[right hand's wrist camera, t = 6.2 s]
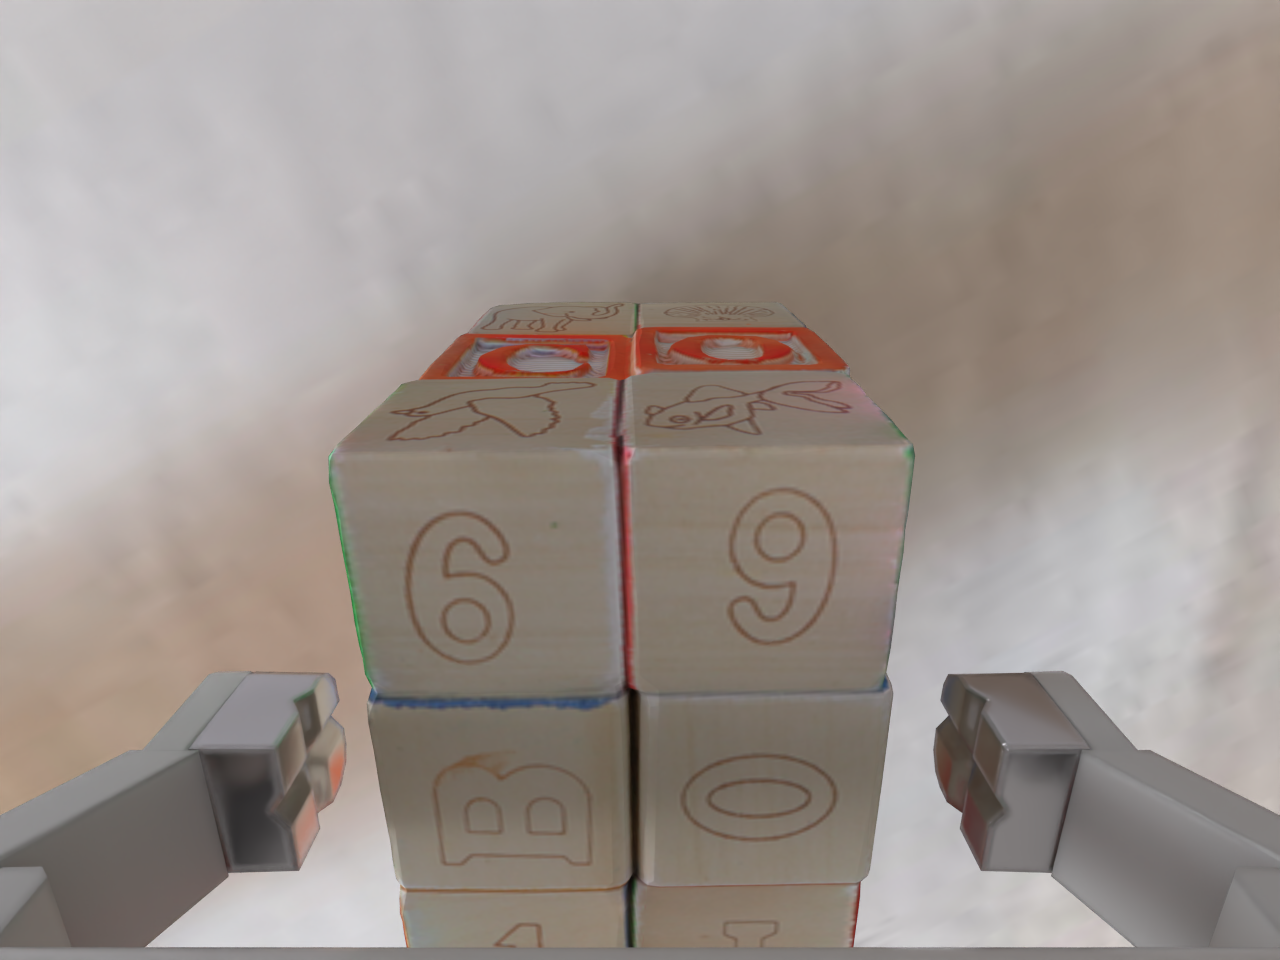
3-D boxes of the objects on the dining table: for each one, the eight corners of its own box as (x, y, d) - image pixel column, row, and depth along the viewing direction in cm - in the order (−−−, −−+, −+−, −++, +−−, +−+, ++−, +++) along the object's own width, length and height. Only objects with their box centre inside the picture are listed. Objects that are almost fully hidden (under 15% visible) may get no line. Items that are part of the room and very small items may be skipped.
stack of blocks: (484, 297, 17) (146, 590, 5) (783, 295, 17) (1110, 582, 5) (538, 1001, 24) (452, 1735, 13) (741, 999, 24) (833, 1732, 13)
